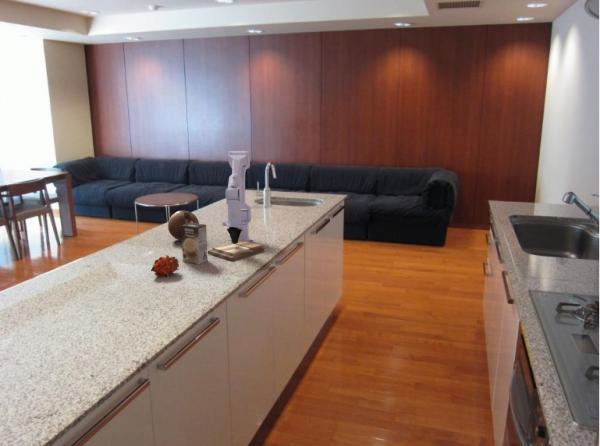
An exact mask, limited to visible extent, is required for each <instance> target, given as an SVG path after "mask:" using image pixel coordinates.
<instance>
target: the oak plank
mask: <svg viewBox="0 0 600 446" xmlns="http://www.w3.org/2000/svg"><path fill="white" fill-rule="evenodd" d="M212 249H213V250H214V251H217V252H221V253H224V254H227V255H231V256H236V255H239V254H242V253H245V252H248V251H250V248H247V247H243V246H239V245H236V244H232V243H231V242H228V243H223V244H221V245H220V244H219V245H218V246H213V247H212Z"/></svg>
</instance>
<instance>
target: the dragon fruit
mask: <svg viewBox="0 0 600 446" xmlns="http://www.w3.org/2000/svg"><path fill="white" fill-rule="evenodd" d="M179 263H180V262H179V259H177V258H176V256H169V255H167V254H166V255H165V256H159V258H158V259H155V261H154V263H153V265H152V267H151V270H150V272H154V275H155V277H157V276H158V277H163V276H167V277H169V276H171V275H173V274H174V272H177V271H178V270H179V267H180V265H179Z"/></svg>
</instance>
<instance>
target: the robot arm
mask: <svg viewBox="0 0 600 446" xmlns="http://www.w3.org/2000/svg"><path fill="white" fill-rule="evenodd" d="M227 153H228V154H227V160H228V163H229V167H230V168H231V175H230V176H229V178H228V184H227V188H225V199H226V205H227V220H224V221H221V222H222V226H223V227H225V226H226V227H228V228H227V229H226V231H227V232H228V234H229V238H228V241H230V242H232V243H233V244H237V243H238V241H239V240H244V241H248V242H252V241H253V239H252V238H249V237H250V236H249V234H250V233H249V223H251V221H252V211H251V210H252V209H251V206H250V205H248V204H247V203H246V171H247V170H248V169H250V166H251V153H250V151H249V150H229V151H228V152H227Z"/></svg>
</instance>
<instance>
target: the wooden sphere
mask: <svg viewBox="0 0 600 446" xmlns="http://www.w3.org/2000/svg"><path fill="white" fill-rule="evenodd" d="M189 222H190V223H197V224H200V222H199V219H198V217H197V216H196V214H194V213H193V212H191V211H188V210H178V211H176V212H174V213H173V214H172V215H171V216H170V218H169V219H168V223H167V230H168V232H169V233H170V235H171V237H172V238H174V239H175V240H177V241H181V242H182V234H181V226H182V225H184V224H187V223H189Z"/></svg>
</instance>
